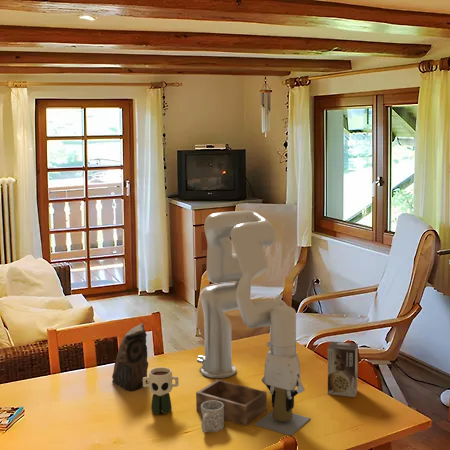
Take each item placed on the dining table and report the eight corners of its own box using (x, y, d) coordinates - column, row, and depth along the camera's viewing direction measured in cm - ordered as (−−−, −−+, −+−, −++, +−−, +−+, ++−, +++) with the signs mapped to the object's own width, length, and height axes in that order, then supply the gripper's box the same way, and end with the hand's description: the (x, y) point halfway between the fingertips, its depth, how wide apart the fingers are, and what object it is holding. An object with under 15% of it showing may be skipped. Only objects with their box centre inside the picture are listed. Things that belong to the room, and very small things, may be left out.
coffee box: (357, 389, 211) (358, 343, 208) (355, 398, 205) (356, 350, 202) (330, 386, 214) (330, 340, 211) (326, 394, 208) (327, 347, 205)
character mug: (142, 416, 194) (141, 376, 192) (145, 406, 201) (143, 367, 199) (178, 416, 194) (177, 375, 192) (179, 405, 201) (178, 366, 199)
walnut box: (196, 410, 197) (196, 392, 196) (218, 396, 207) (218, 379, 206) (245, 425, 187) (245, 406, 186) (266, 410, 197) (266, 392, 196)
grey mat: (255, 425, 188) (255, 423, 188) (275, 409, 198) (275, 408, 197) (291, 435, 181) (291, 434, 181) (310, 419, 191) (310, 418, 191)
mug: (207, 419, 191) (206, 399, 190) (227, 423, 189) (227, 402, 188) (192, 435, 182) (192, 413, 181) (214, 439, 180) (213, 417, 179)
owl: (146, 374, 226) (144, 319, 223) (158, 387, 215) (156, 330, 212) (111, 381, 221) (108, 325, 217) (122, 394, 210) (119, 336, 206)
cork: (291, 421, 186) (292, 386, 184) (271, 420, 187) (271, 384, 185) (293, 412, 191) (293, 377, 190) (273, 410, 193) (273, 376, 191)
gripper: (251, 347, 187) (251, 405, 190) (302, 358, 178) (302, 420, 181) (264, 339, 193) (264, 396, 196) (314, 350, 184) (313, 410, 187)
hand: (282, 407), depth 189 cm, fingers closed on cork, 4 cm apart
